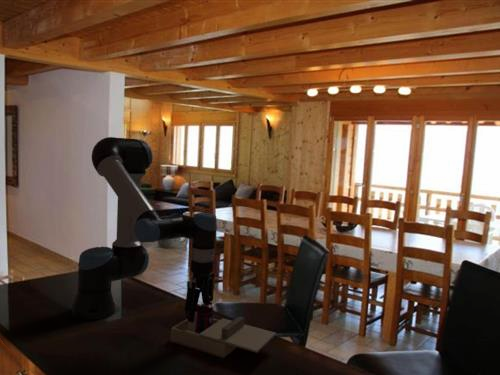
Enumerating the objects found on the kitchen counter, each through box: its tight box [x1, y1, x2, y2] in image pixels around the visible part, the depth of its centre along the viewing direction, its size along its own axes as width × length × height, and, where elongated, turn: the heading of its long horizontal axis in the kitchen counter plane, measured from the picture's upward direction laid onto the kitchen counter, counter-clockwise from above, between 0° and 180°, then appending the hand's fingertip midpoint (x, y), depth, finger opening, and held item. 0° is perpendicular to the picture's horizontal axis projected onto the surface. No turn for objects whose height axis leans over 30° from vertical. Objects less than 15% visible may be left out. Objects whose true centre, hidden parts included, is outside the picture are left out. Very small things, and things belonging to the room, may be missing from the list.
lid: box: [199, 316, 277, 353], centre depth 139 cm, size 20×15×4 cm
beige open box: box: [169, 317, 238, 359], centre depth 144 cm, size 20×15×4 cm
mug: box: [185, 305, 214, 334], centre depth 146 cm, size 7×10×7 cm
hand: (197, 326), depth 146 cm, fingers closed on mug, 7 cm apart
